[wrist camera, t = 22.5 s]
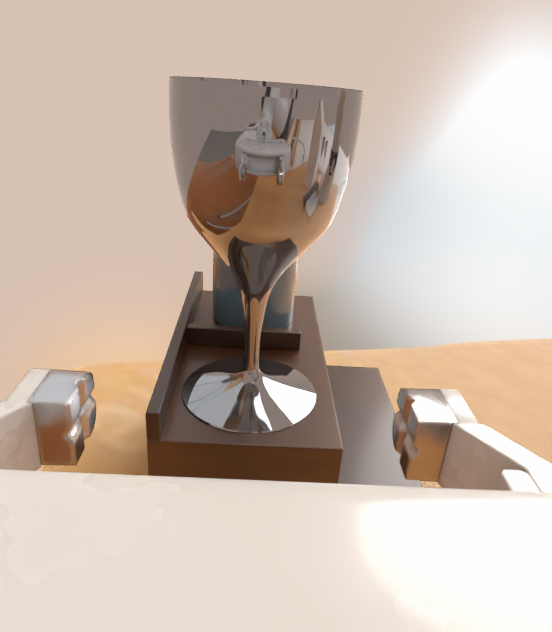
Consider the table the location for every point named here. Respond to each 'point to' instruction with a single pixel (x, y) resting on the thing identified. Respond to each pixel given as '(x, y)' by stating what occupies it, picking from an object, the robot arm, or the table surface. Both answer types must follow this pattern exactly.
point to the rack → (279, 446)
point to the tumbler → (230, 301)
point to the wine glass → (258, 218)
